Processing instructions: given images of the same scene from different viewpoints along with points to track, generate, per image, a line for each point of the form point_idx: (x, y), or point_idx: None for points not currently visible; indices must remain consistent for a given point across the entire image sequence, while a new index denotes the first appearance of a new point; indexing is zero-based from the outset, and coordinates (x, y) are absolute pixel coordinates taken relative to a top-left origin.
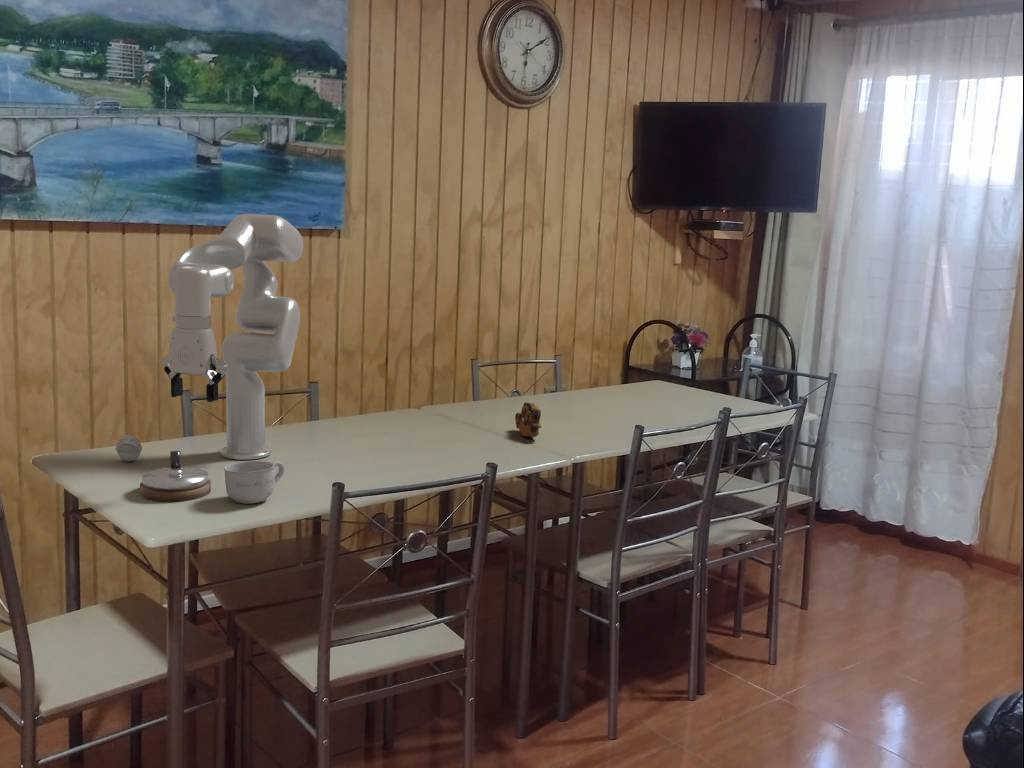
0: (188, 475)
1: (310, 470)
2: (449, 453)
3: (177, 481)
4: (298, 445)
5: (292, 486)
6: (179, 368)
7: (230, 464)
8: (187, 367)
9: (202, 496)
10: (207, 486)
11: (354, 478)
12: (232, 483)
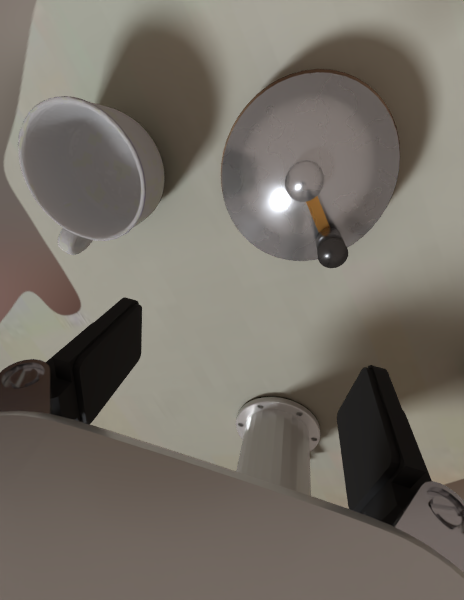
0: (270, 190)
1: (142, 362)
2: None
3: (272, 120)
4: (223, 464)
5: (115, 277)
6: (304, 566)
7: (141, 192)
8: (149, 554)
9: None
10: (221, 181)
11: (65, 335)
12: (103, 106)
